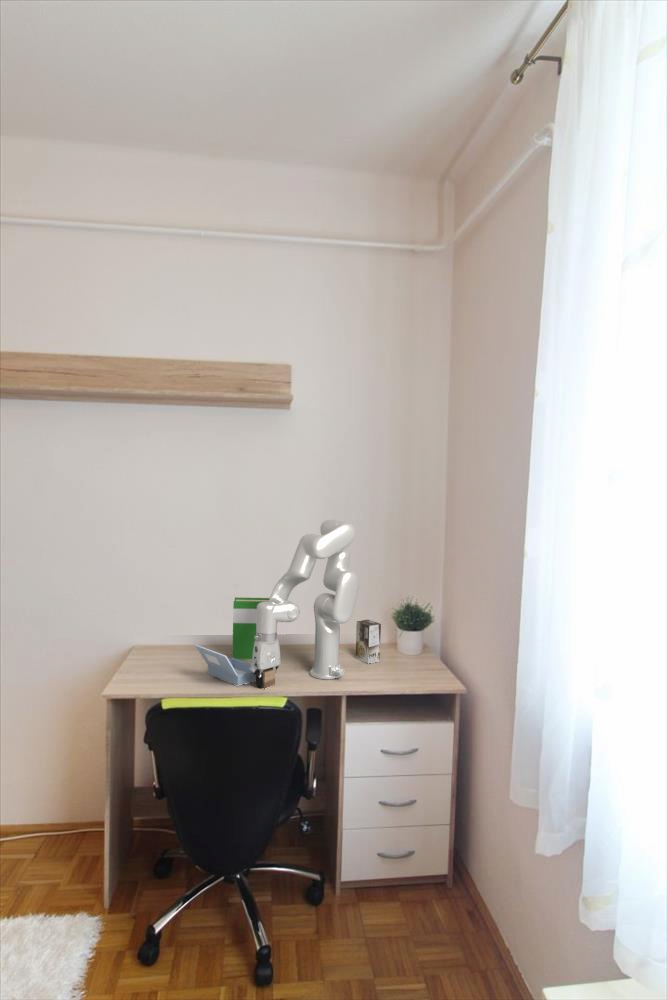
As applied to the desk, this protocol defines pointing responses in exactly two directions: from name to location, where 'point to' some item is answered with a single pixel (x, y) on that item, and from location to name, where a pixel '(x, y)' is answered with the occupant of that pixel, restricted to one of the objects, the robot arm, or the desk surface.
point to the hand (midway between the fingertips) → (265, 684)
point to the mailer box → (240, 669)
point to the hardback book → (245, 626)
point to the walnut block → (268, 677)
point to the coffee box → (368, 641)
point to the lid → (216, 660)
